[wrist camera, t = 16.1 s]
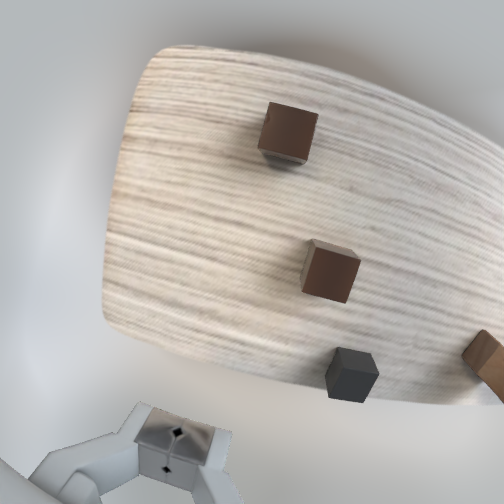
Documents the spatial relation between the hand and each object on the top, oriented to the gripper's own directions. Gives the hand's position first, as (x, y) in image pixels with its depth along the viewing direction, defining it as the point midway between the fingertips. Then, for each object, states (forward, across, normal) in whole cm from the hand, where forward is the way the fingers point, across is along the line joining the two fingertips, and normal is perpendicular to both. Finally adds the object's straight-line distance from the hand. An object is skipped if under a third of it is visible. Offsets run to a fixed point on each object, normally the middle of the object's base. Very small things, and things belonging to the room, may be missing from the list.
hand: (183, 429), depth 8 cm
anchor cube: (+21, -13, +9) cm, 26 cm away
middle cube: (+21, -7, -2) cm, 22 cm away
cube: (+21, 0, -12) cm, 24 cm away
